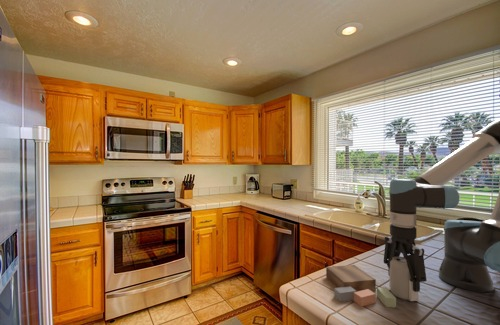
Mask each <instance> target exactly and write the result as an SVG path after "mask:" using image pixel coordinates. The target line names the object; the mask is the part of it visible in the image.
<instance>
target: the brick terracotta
mask: <svg viewBox="0 0 500 325" xmlns="http://www.w3.org/2000/svg"><path fill="white" fill-rule="evenodd" d="M376 298H377V293H376V292H375V291H370V290H369V289H366V290H362V291H358V292H354V300H353V302H354V303H356V304H357V305H359V306H360V307H364V306H368V305H372V304H376V303H377V302H376V301H377V299H376Z"/></svg>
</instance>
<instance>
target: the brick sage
mask: <svg viewBox="0 0 500 325" xmlns="http://www.w3.org/2000/svg"><path fill="white" fill-rule="evenodd" d="M376 298H378V299H379V300H380V301H381V303H382V304H383V305H384V307H386V308H397V297H396V296H395V295H394V294H393V293H392V292H391V290H390V289H388V288H387V287H377V286H376Z"/></svg>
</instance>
